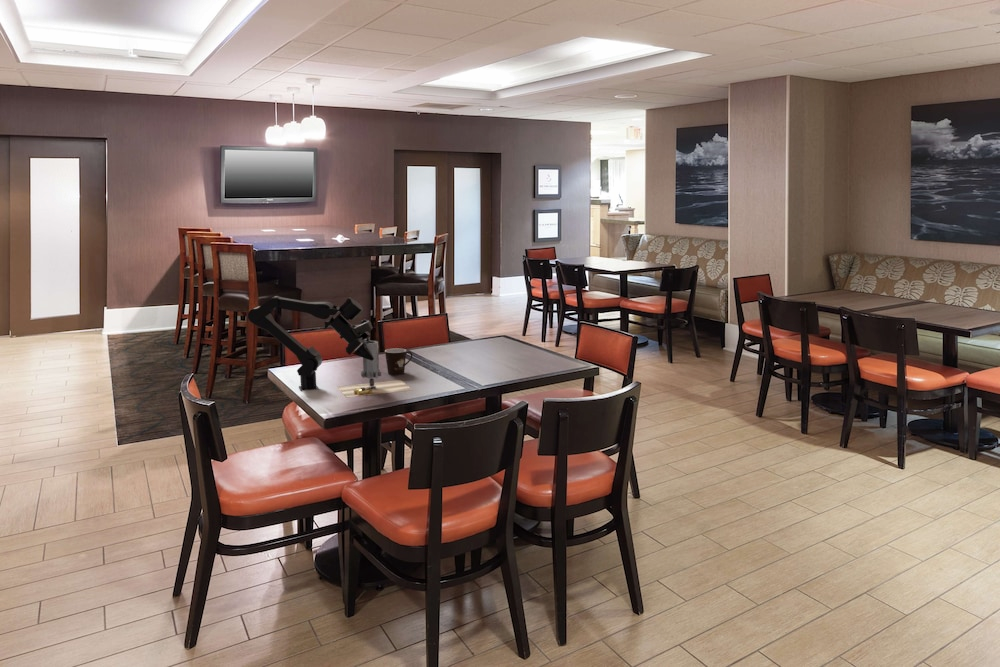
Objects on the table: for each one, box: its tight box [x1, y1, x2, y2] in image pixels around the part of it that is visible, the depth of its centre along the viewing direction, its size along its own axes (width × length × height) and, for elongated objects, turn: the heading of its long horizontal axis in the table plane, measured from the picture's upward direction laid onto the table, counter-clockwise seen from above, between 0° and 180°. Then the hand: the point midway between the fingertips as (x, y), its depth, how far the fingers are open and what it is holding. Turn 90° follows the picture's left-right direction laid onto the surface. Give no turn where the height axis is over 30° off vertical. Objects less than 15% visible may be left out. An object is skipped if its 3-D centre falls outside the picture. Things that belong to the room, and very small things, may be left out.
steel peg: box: [368, 378, 376, 389], centre depth 282 cm, size 3×3×4 cm
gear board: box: [337, 379, 413, 398], centre depth 281 cm, size 16×25×1 cm, turn 114°
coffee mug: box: [384, 348, 413, 376], centre depth 304 cm, size 12×9×10 cm
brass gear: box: [354, 387, 372, 396], centre depth 275 cm, size 7×7×2 cm
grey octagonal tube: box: [360, 340, 382, 379], centre depth 280 cm, size 7×7×13 cm
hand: (374, 358), depth 280 cm, fingers closed on grey octagonal tube, 5 cm apart
